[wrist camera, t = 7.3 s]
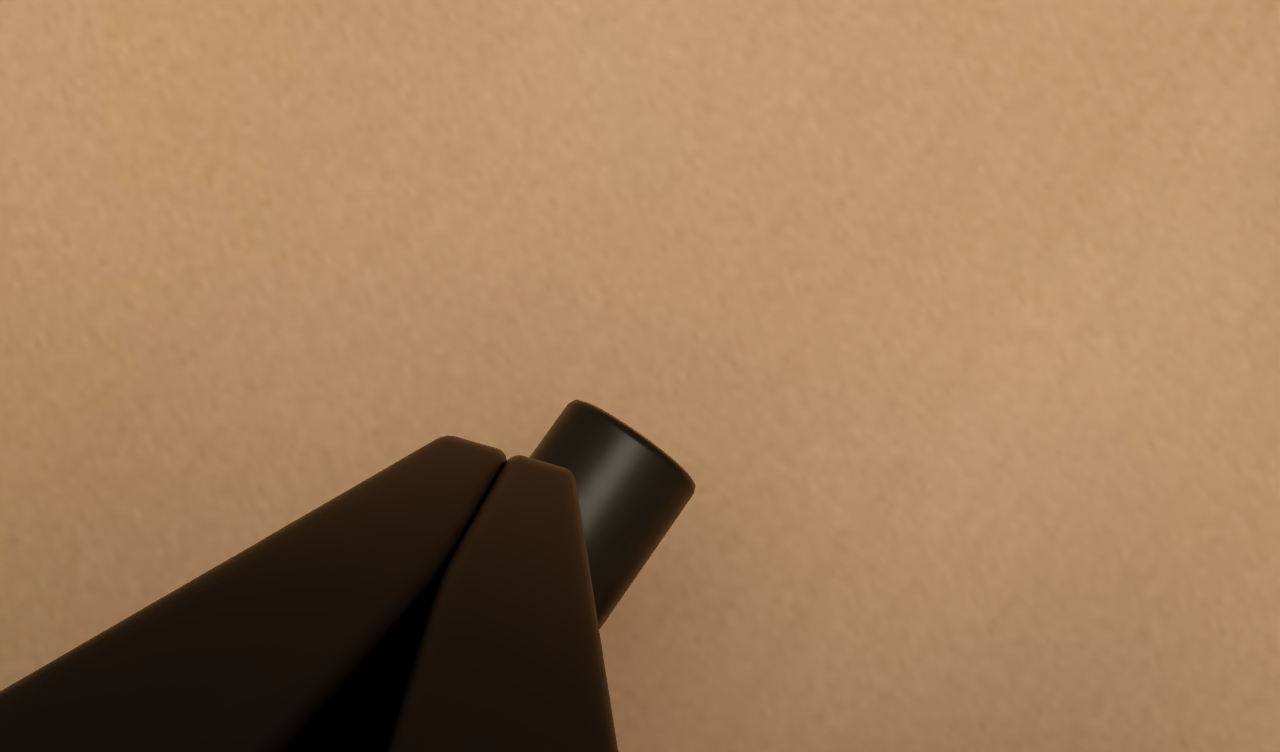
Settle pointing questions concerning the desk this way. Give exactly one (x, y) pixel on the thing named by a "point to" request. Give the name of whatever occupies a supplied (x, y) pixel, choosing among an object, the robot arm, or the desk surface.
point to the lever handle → (616, 494)
